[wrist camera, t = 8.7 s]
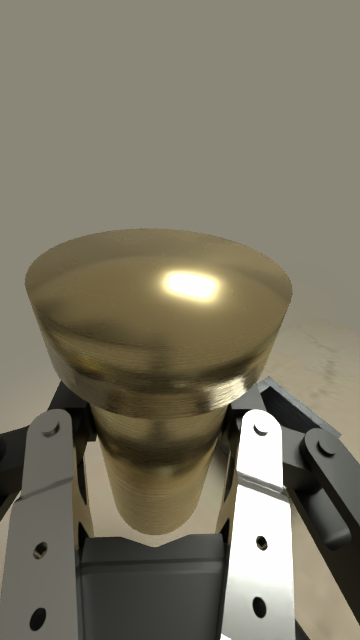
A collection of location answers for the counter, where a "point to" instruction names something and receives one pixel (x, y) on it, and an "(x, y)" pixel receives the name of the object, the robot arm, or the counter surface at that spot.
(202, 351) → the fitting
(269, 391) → the open metal box
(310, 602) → the counter surface
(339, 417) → the counter surface
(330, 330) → the counter surface
